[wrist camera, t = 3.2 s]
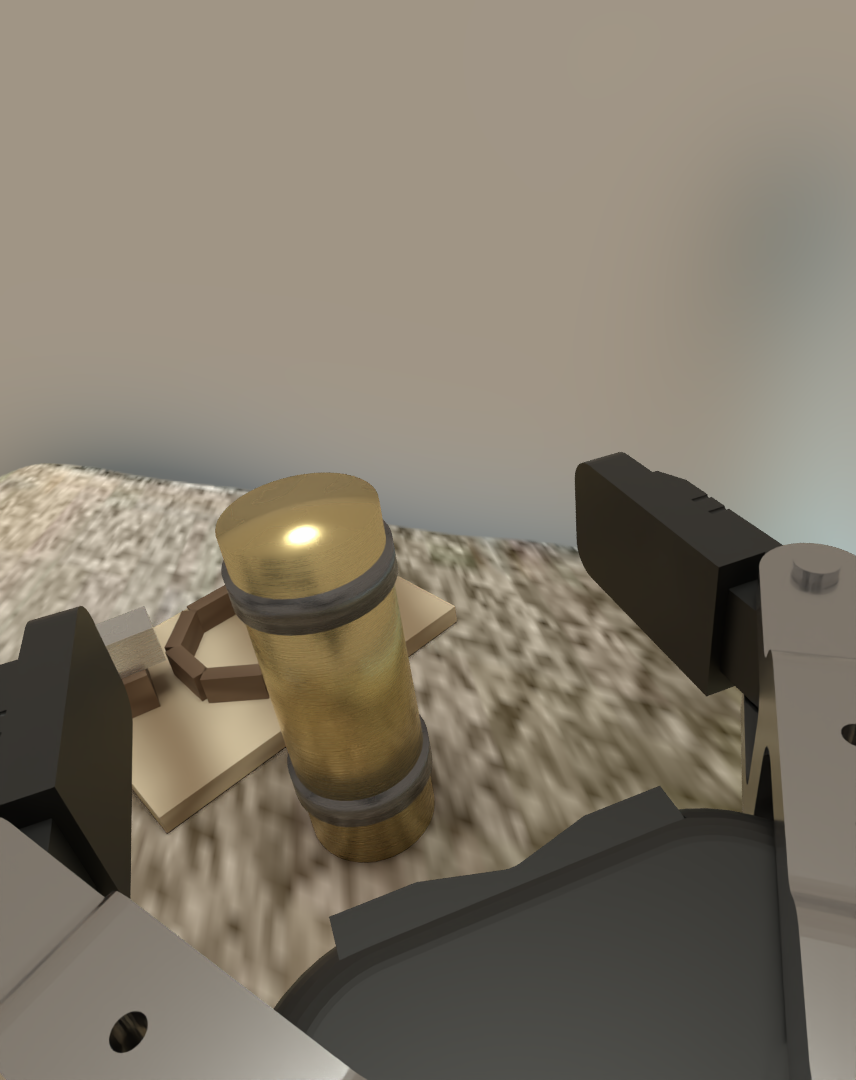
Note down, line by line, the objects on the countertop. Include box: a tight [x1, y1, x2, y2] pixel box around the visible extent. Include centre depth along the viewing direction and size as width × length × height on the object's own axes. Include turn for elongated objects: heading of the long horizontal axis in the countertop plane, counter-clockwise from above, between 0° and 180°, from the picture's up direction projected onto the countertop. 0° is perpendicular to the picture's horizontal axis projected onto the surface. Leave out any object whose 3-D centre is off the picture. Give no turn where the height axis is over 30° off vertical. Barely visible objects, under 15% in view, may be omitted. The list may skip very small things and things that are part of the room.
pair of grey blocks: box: [95, 606, 166, 679], centre depth 37 cm, size 16×3×2 cm, turn 134°
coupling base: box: [122, 576, 457, 833], centre depth 38 cm, size 17×12×3 cm
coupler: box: [215, 473, 435, 862], centre depth 26 cm, size 5×5×14 cm
